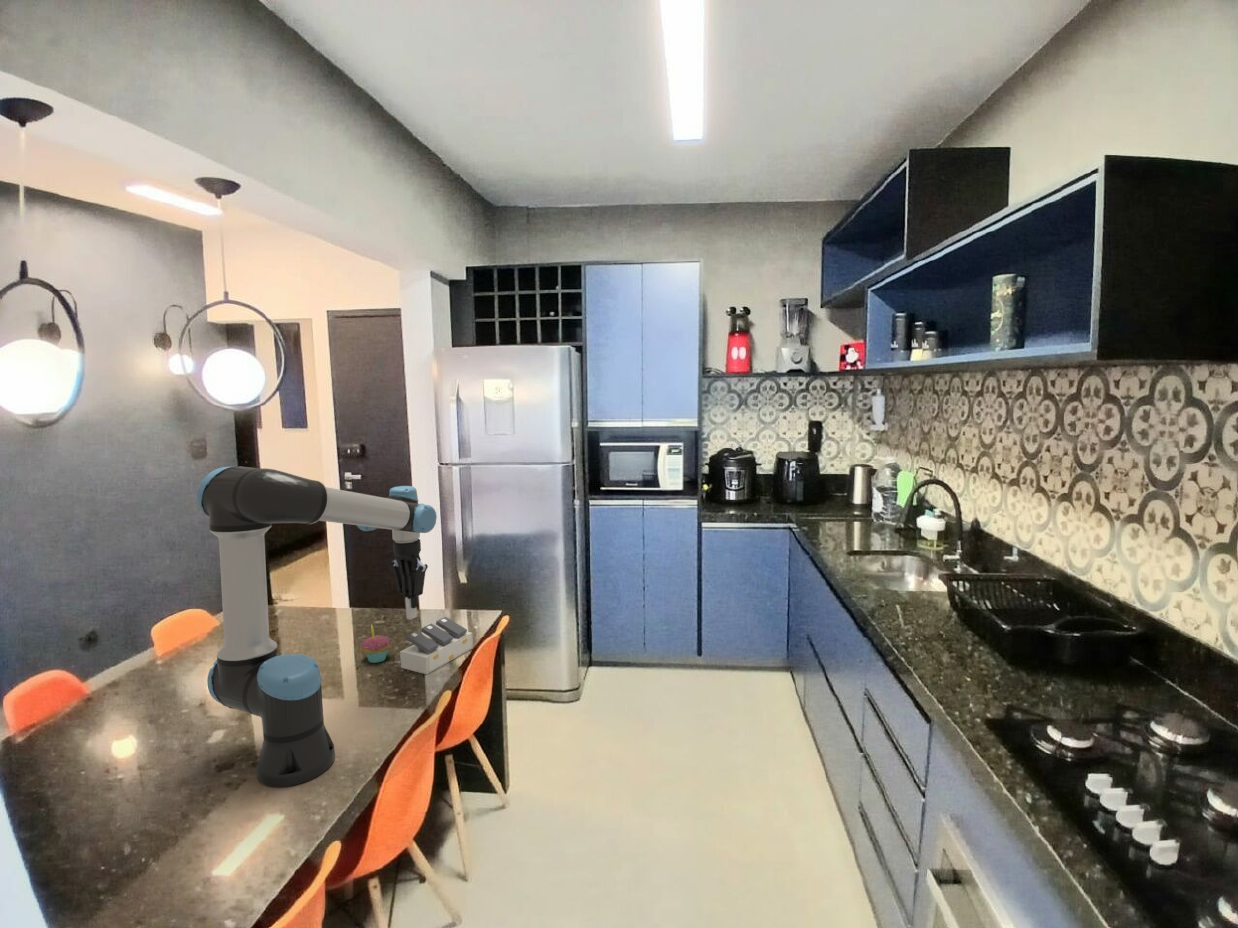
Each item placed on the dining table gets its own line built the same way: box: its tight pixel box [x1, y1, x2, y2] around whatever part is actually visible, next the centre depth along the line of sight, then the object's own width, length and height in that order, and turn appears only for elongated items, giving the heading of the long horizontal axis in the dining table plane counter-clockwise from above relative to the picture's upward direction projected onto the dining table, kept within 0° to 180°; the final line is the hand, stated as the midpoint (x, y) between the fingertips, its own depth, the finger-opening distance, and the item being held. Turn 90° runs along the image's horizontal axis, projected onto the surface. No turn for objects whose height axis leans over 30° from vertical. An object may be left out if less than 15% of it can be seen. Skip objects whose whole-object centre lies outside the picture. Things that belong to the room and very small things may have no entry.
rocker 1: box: [405, 630, 439, 653], centre depth 184 cm, size 4×9×1 cm, turn 63°
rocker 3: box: [435, 616, 468, 638], centre depth 195 cm, size 4×9×1 cm, turn 63°
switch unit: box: [399, 629, 474, 675], centre depth 190 cm, size 20×10×6 cm, turn 153°
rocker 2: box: [420, 623, 453, 645], centre depth 190 cm, size 4×9×1 cm, turn 63°
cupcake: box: [360, 623, 392, 664], centre depth 189 cm, size 9×8×12 cm
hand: (411, 617), depth 185 cm, fingers closed
